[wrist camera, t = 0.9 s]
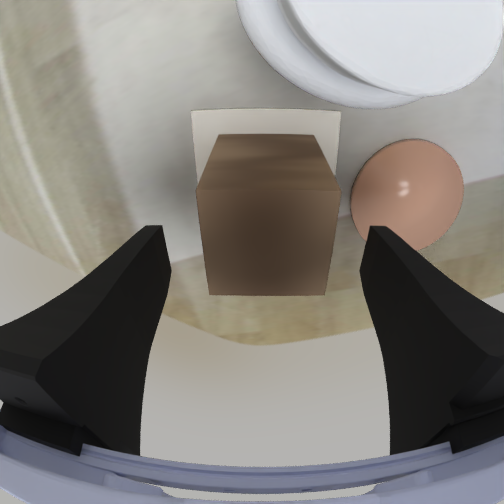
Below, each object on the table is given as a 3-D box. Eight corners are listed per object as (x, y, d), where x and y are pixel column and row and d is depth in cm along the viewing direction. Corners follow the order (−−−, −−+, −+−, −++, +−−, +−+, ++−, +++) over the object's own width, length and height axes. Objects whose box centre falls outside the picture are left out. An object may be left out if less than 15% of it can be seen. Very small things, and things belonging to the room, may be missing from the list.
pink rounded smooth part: (471, 148, 14) (475, 151, 14) (441, 248, 18) (444, 253, 18) (358, 132, 14) (361, 135, 14) (342, 248, 18) (343, 253, 18)
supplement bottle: (249, 73, 13) (225, 138, 5) (245, -37, 9) (215, -157, 1) (369, 79, 13) (516, 163, 4) (371, -28, 9) (522, -80, 1)
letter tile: (340, 111, 14) (341, 111, 14) (327, 233, 18) (328, 234, 18) (190, 110, 14) (190, 111, 14) (203, 233, 18) (203, 234, 18)
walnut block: (313, 134, 14) (341, 191, 10) (307, 215, 17) (324, 295, 12) (218, 134, 15) (195, 190, 10) (223, 214, 17) (209, 294, 12)
